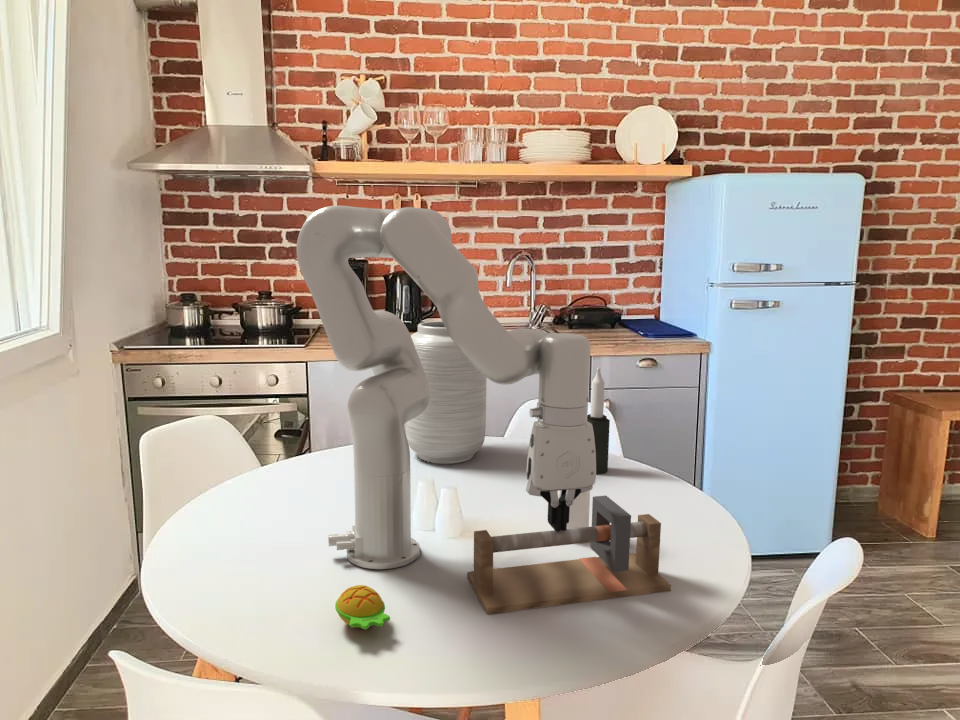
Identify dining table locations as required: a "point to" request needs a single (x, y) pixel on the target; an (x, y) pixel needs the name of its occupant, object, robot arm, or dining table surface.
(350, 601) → the toy pineapple
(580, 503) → the can
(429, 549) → the dining table surface
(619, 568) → the collar
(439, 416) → the vase
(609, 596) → the rail
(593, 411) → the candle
